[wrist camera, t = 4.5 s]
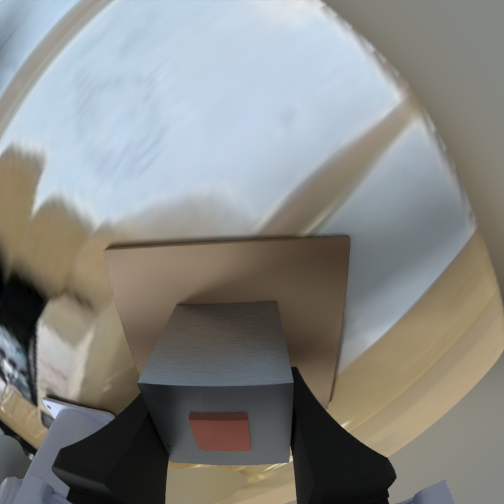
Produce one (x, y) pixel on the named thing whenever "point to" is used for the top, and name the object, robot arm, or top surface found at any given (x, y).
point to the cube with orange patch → (221, 385)
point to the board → (239, 292)
